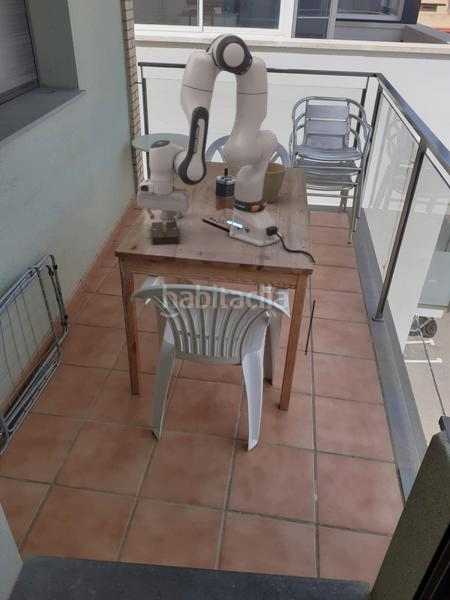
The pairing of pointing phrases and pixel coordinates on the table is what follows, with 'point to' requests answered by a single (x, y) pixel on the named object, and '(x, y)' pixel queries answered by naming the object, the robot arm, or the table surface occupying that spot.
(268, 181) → the plant pot
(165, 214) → the cup
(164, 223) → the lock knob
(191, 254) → the table surface
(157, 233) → the lock plate
